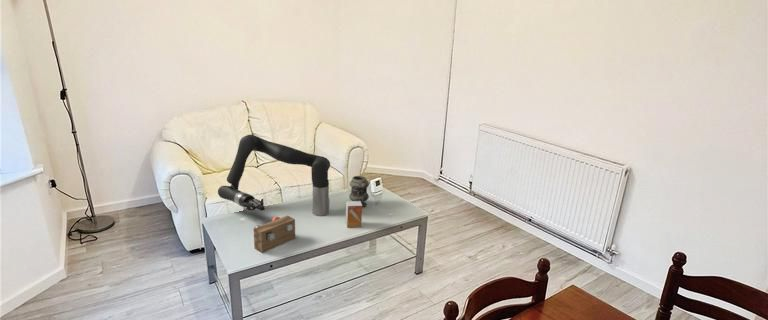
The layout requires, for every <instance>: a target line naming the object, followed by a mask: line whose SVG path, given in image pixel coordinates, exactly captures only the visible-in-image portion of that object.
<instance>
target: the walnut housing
mask: <svg viewBox="0 0 768 320" xmlns="http://www.w3.org/2000/svg"><path fill="white" fill-rule="evenodd" d="M288 224H291V225H292V230H290V231H288V230H286V225H288ZM253 230H254V231H253V244H254V250H256V251H258V252H259V253H261V254H264V253H265V252H269V251H271V250H272V249H275V248H278V247H279V246H282V245H284V244H286V243H289V242H291V241H293V240H296V219H295V218H293V217H291V216H289V215H285V216H282V217H279V219H277V220H274V221H272V220H271V221H269V222H267V223H263V224H262V225H260V226H258V227H256V228H253ZM268 232H271V233H273V234H275V239H273V240H271V241H270V240H268V239H267V238H266V233H268Z"/></svg>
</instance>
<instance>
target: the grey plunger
mask: <svg viewBox="0 0 768 320" xmlns="http://www.w3.org/2000/svg"><path fill="white" fill-rule="evenodd" d="M258 226H261V225H260V224H256V225H255V226H254V228H256V227H258ZM254 228H253V232H254ZM266 238H267V239H268V240H270V241H271V240H273V239H275V234H273V233H271V232H268V233H266Z"/></svg>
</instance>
